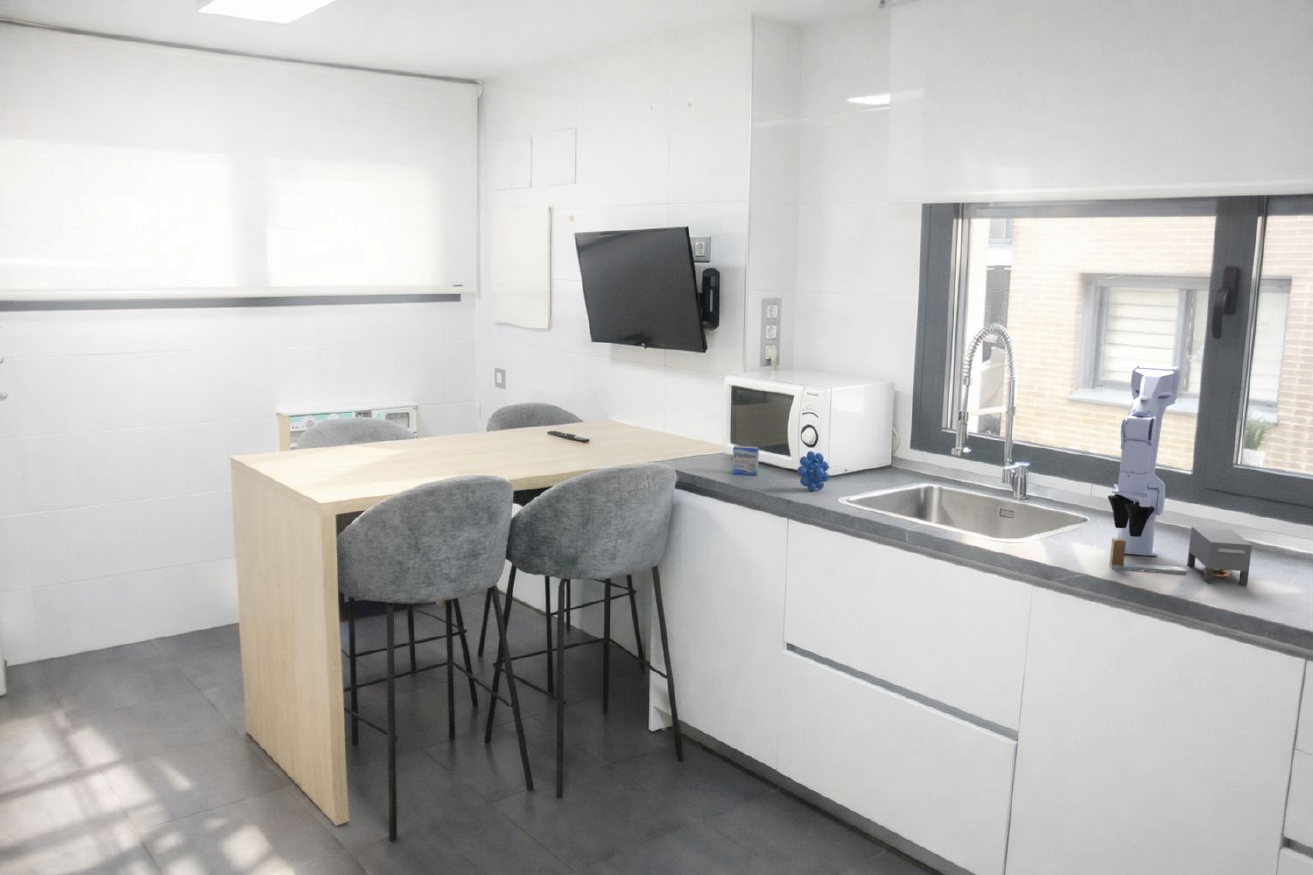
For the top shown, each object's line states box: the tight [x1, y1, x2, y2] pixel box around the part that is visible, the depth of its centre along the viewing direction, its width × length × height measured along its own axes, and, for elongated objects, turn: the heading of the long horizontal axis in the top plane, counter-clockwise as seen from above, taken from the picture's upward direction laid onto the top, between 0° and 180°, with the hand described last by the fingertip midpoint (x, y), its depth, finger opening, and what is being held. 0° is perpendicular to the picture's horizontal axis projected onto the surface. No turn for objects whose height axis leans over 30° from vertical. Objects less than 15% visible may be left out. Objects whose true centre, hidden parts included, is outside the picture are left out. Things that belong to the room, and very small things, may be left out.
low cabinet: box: [1186, 525, 1253, 587], centre depth 225 cm, size 15×8×9 cm, turn 168°
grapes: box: [796, 450, 830, 492], centre depth 299 cm, size 12×7×12 cm, turn 123°
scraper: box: [1108, 537, 1187, 576], centre depth 228 cm, size 3×15×6 cm, turn 77°
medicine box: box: [731, 445, 760, 477], centre depth 324 cm, size 8×4×9 cm, turn 80°
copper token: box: [1202, 566, 1231, 580], centre depth 226 cm, size 5×5×2 cm
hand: (1127, 532), depth 227 cm, fingers open, 7 cm apart
